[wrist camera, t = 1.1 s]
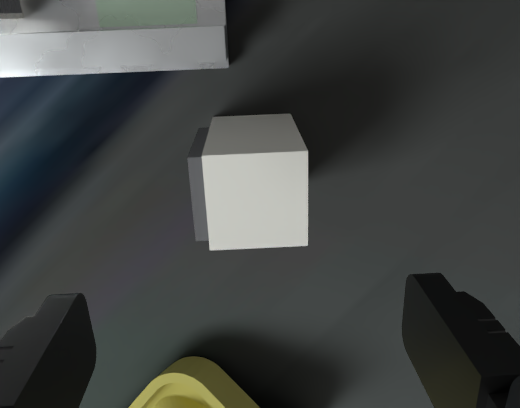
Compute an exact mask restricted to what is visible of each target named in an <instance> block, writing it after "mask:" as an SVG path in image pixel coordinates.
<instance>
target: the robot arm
mask: <svg viewBox="0 0 520 408" xmlns="http://www.w3.org/2000/svg"><path fill="white" fill-rule="evenodd" d="M402 337H403V342H404V346H405V349H406V352H407V354H408V356H409V358H410V360H411V362H412V364H413V366H414V368H415V370H416V372H417V374H418V376H419V378H420V380H421V382H422V384H423V386H424V388H425V390H426V392H427V394H428V396H429V398H430V400H431V402H432V404H433V406H434V408H520V346H519V345H518V344H517V343H516V341H515V340H514V339H513V338H512V337H511V335H510V334H509V333H508V332H507V333H506V332H505V328H504V327H503V326H502V325H501V324H500V323H499V321H498V320H495V317H494V316H493V314H492V313H491V312H490V311H489V310H488V308H487V307H486V306H485V305H484V304H483V303H482V302H480V301H479V300H477V299H476V298H474V297H472V296H471V295H469V294H467V293H466V292H464V291H463V292H456V291H455V290H454V289H453V287H452V286H451V285H450V284H449V282H448V281H447V280H446V279H445V277H444V276H443V275H442V274H441V273H426V274H410V275H408V277H407V280H406V286H405V297H404V308H403V319H402ZM95 363H96V344H95V339H94V334H93V330H92V325H91V321H90V316H89V311H88V307H87V302H86V299H85V297H84V295H83V294H82V293H75V294H58V295H49V296H48V297H47V298H46V299H45V301H44V302H43V304H42V305H41V307H40V308H39V310H38V311H37V313H36V314H35V316H34V317H26V318H24V319H23V320H22V321H20V322H19V323H18V324H16V325H15V326H14V327H12V328H11V329H10V330H8V331H7V333H6V334H5V335H4V337H3V338H2V340H1V341H0V408H79V405H80V403H81V400H82V398H83V396H84V393H85V391H86V388H87V386H88V383H89V381H90V378H91V376H92V373H93V371H94V367H95Z"/></svg>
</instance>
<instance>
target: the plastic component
mask: <svg viewBox="0 0 520 408" xmlns="http://www.w3.org/2000/svg"><path fill="white" fill-rule="evenodd" d="M129 408H260V407H259V406H258V405H257V404H256V403H255V402H254V401H253V400H252V399H251V398H250V397H249V396H248V395H247V394H246V393H245V392H244V391H243V390H242V389H241V388H240V387H239V386H238V385H237V384H236V383H235V382H234V381H233V380H232V379H231V378H230V377H229V376H228V375H227V374H226V373H225V372H224V371H223V370H222V369H221V368H220V367H219V366H218V365H217V364H215V363H214V362H212V361H210V360H208V359H206V358H203V357H196V356H191V357H184V358H182V359H179V360H177V361H176V362H174V363H173V364H172V365H170V366H169V367H168V368H167V369H166V370H164V371H163V372H162V373H161V374H160V375H158V376H157V377H156V378H155V379H154V380H152V381H151V382H150V383H149V385H148V386H147V387H146V388H145V389H144V390H143V392H142V393H141V394H140V395H139V396H138V397H137V398H136V400H135V401H134V402H133V403H132V404H131V405H130V406H129Z"/></svg>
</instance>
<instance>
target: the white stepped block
mask: <svg viewBox="0 0 520 408" xmlns="http://www.w3.org/2000/svg"><path fill="white" fill-rule="evenodd" d="M213 68H229V53H228V36H227V19H226V3H225V0H0V77H20V76H44V75H68V74H93V73H117V72H141V71H165V70H189V69H213Z"/></svg>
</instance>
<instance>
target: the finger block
mask: <svg viewBox="0 0 520 408" xmlns="http://www.w3.org/2000/svg"><path fill="white" fill-rule="evenodd" d="M187 159H188V169H189V179H190V189H191V199H192V209H193V218H194V228H195V238H196V241H209V247H210V250H228V249H249V248H270V247H291V246H308V150H307V148H306V145H305V143H304V141H303V139H302V137H301V135H300V133H299V131H298V128H297V126H296V124H295V122H294V120H293V118H292V116H291V114H268V115H245V116H222V117H213V118H212V121H211V125H210V127H209V128H199V129H198V132H197V134H196V137H195V139H194V142H193V145H192V147H191V150H190V152H189V155H188V157H187Z"/></svg>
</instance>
